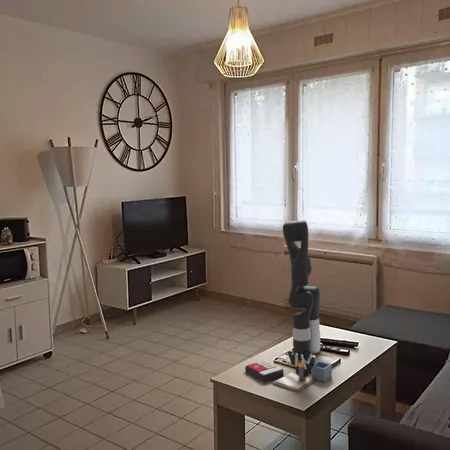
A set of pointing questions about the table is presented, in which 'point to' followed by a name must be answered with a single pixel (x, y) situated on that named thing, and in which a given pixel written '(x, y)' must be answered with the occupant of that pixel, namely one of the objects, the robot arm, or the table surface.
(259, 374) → the dark grey box
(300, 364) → the marker
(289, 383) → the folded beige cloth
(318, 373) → the pen cup
